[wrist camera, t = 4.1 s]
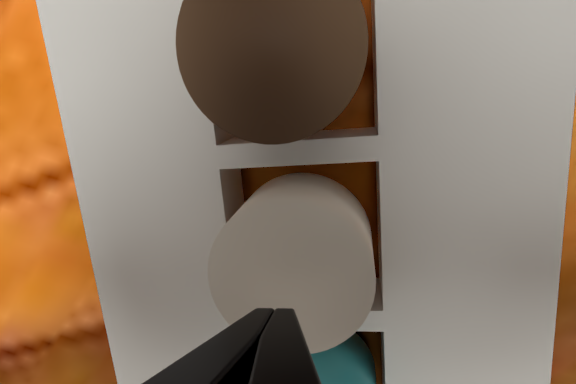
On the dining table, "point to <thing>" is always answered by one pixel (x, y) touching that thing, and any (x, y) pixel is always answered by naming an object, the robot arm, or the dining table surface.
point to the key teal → (346, 363)
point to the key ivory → (297, 258)
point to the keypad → (328, 150)
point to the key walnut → (271, 63)
